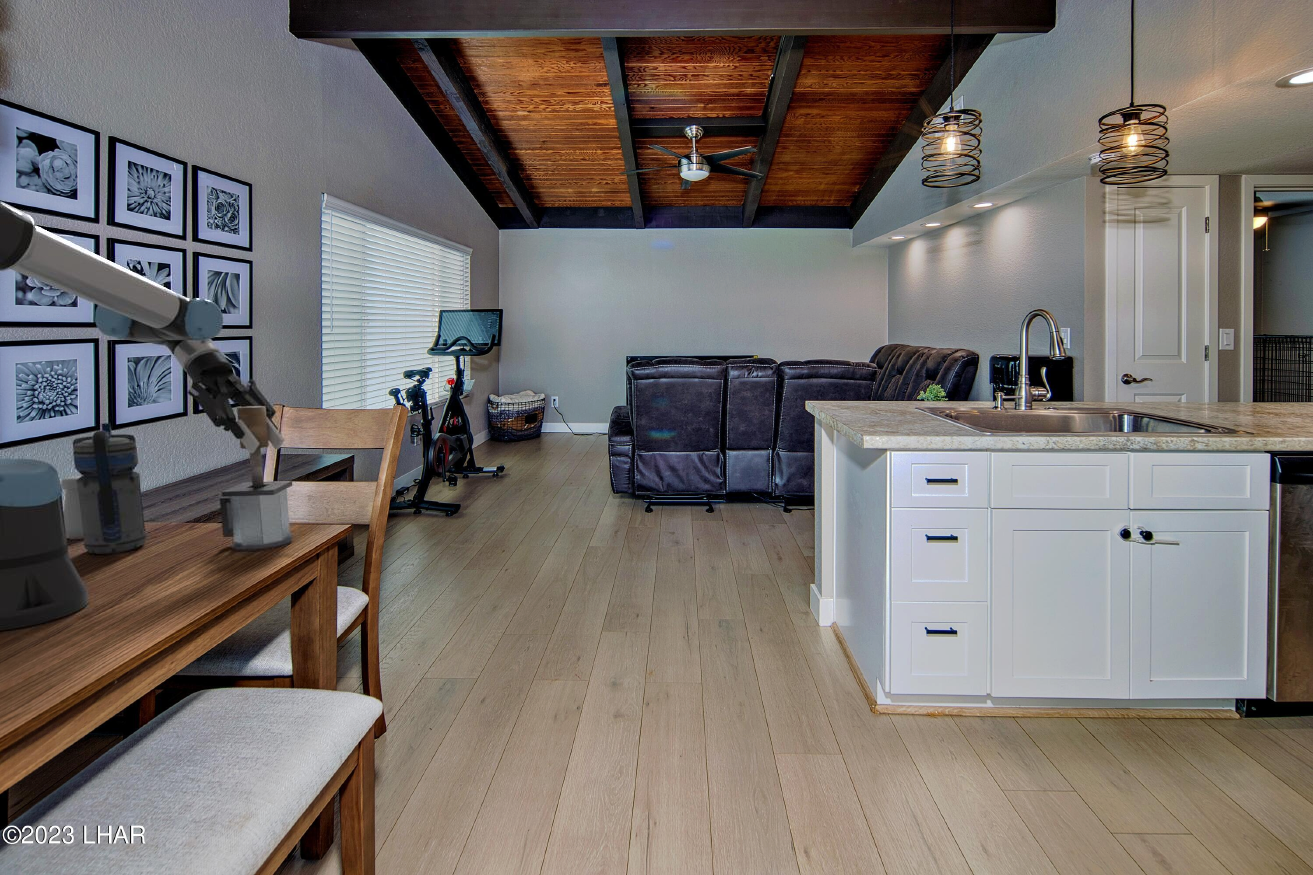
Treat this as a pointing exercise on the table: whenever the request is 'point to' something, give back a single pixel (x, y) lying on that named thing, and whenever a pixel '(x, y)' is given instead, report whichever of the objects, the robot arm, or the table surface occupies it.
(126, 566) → the table surface
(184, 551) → the table surface
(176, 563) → the table surface
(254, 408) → the plunger
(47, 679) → the table surface
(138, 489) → the beverage bottle
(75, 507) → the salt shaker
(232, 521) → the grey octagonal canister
